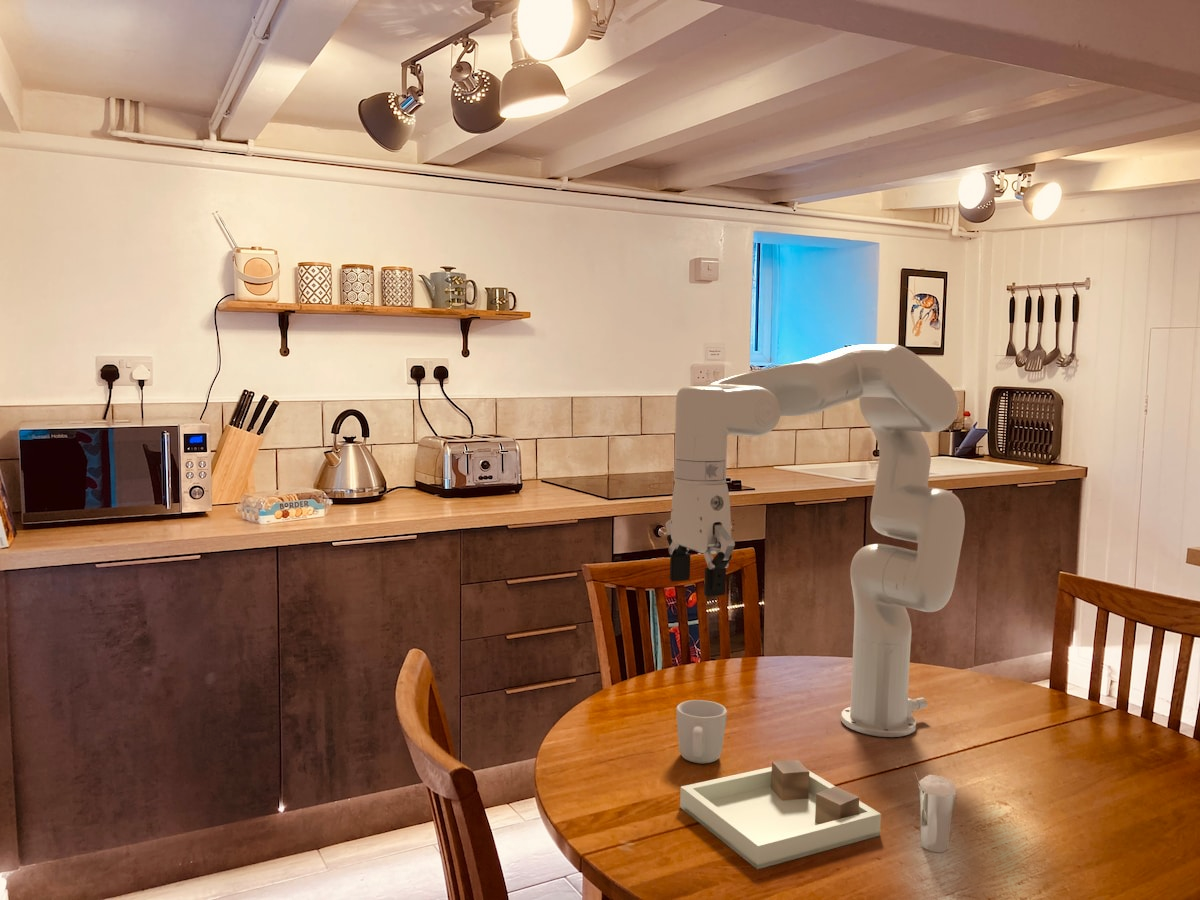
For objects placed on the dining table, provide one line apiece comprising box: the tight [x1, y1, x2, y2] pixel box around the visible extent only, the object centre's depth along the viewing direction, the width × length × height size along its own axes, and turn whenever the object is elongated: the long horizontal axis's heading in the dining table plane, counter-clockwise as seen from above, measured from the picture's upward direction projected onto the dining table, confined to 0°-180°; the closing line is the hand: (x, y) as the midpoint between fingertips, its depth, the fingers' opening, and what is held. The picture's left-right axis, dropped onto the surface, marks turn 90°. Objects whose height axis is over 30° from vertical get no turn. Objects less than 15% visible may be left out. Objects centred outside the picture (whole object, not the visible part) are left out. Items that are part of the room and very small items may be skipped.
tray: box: [679, 766, 882, 870], centre depth 128 cm, size 20×18×3 cm
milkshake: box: [913, 771, 957, 853], centre depth 122 cm, size 4×5×10 cm
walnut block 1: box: [771, 759, 810, 801], centre depth 135 cm, size 4×4×4 cm
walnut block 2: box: [815, 785, 860, 824], centre depth 126 cm, size 4×4×4 cm
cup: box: [675, 699, 728, 764], centre depth 147 cm, size 11×8×8 cm
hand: (696, 587), depth 138 cm, fingers open, 9 cm apart
